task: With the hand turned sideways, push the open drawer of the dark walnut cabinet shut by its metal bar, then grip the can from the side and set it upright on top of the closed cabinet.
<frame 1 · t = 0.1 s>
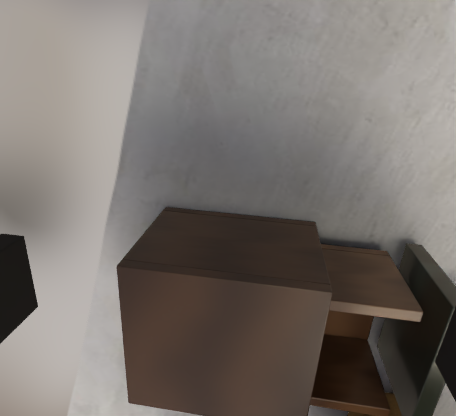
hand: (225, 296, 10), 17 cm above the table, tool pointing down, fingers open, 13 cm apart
cabinet: (234, 273, 31), on the table
drawer: (371, 326, 25), point 5 cm above the table, slide at 6.9 cm
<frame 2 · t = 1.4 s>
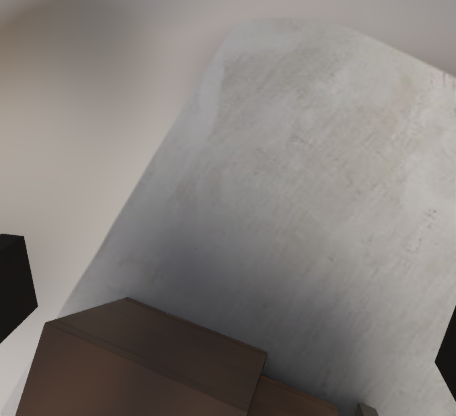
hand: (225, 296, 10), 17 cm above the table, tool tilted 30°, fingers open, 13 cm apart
cabinet: (172, 392, 28), on the table
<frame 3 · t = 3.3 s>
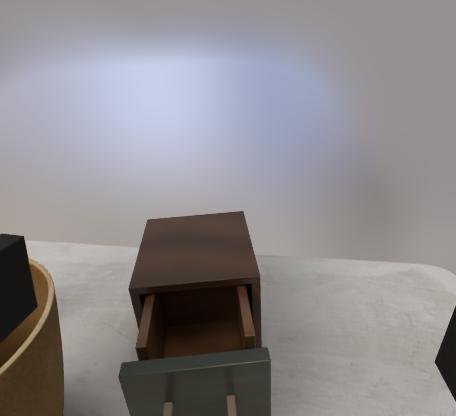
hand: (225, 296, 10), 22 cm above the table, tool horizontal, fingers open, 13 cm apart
cabinet: (203, 312, 40), on the table
drawer: (200, 362, 28), point 5 cm above the table, slide at 6.9 cm
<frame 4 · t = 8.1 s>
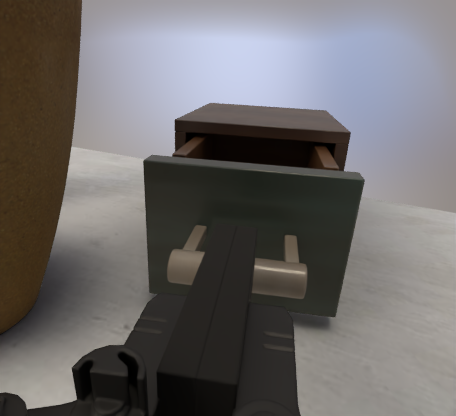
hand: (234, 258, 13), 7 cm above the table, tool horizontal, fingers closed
cabinet: (254, 219, 32), on the table
drawer: (250, 215, 21), point 5 cm above the table, slide at 6.3 cm, touching gripper
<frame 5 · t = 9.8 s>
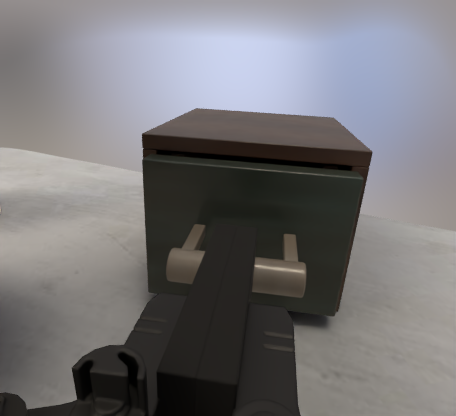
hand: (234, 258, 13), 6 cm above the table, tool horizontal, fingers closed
cabinet: (248, 249, 26), on the table
drawer: (249, 214, 21), point 5 cm above the table, slide at 0.5 cm, touching gripper
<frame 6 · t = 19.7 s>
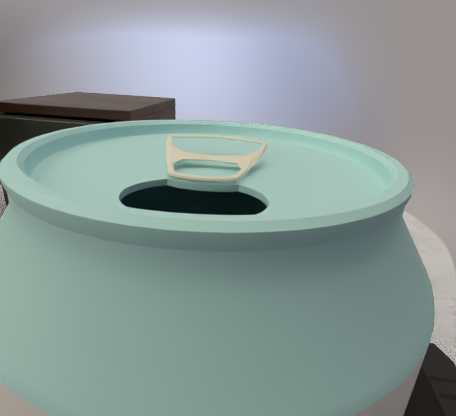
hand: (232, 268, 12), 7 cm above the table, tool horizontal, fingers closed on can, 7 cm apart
cabinet: (107, 193, 36), on the table
drawer: (80, 159, 31), point 5 cm above the table, slide at 0.5 cm
when the fingers open (16 cm above the table, at t = 29.4 s): can stays where it is, resting on cabinet.
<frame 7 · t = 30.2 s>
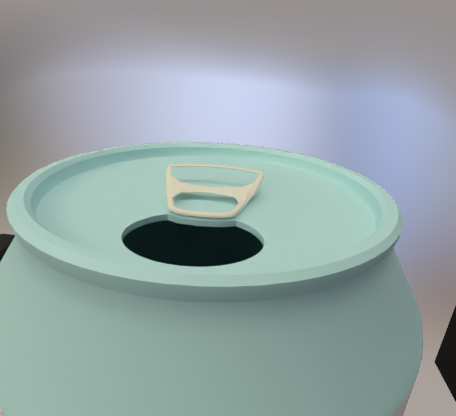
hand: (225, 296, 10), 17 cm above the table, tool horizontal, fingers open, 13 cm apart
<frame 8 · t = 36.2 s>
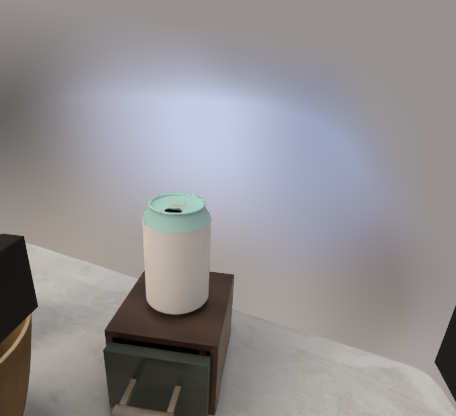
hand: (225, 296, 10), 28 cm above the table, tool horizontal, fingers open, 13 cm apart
cabinet: (178, 361, 43), on the table
can: (177, 299, 39), point 9 cm above the table, touching cabinet
drawer: (167, 359, 37), point 5 cm above the table, slide at 0.5 cm
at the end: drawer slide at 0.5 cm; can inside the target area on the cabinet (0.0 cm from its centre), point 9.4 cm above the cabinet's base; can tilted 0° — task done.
